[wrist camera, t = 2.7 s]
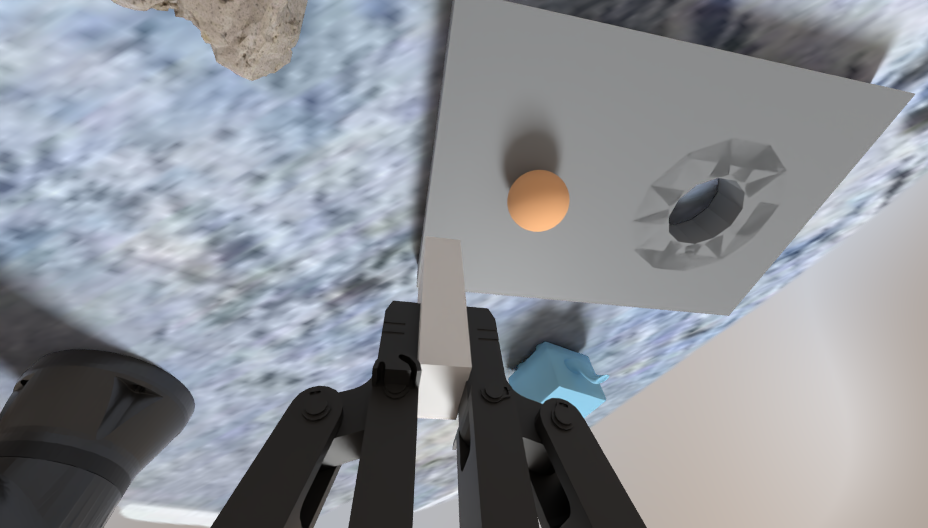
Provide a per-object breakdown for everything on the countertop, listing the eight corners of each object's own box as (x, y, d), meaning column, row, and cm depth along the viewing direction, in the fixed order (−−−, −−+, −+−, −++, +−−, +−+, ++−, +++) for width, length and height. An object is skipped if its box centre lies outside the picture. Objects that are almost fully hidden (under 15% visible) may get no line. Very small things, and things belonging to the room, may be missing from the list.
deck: (417, 265, 32) (416, 287, 30) (453, -10, 21) (456, -11, 18) (709, 294, 37) (728, 315, 35) (870, 84, 26) (915, 93, 23)
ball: (497, 209, 26) (506, 239, 23) (510, 156, 24) (523, 181, 21) (549, 216, 27) (564, 246, 24) (567, 165, 24) (588, 190, 21)
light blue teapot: (561, 314, 38) (586, 375, 32) (605, 331, 40) (636, 391, 34) (500, 379, 43) (510, 440, 37) (540, 390, 46) (556, 451, 40)
